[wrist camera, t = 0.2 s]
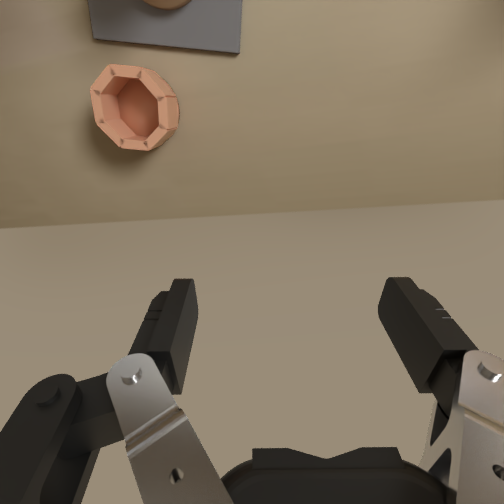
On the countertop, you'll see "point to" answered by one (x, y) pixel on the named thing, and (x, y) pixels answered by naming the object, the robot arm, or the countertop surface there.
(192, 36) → the rubber mat
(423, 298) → the robot arm
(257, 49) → the countertop surface
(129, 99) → the terracotta bowl
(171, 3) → the walnut lid
